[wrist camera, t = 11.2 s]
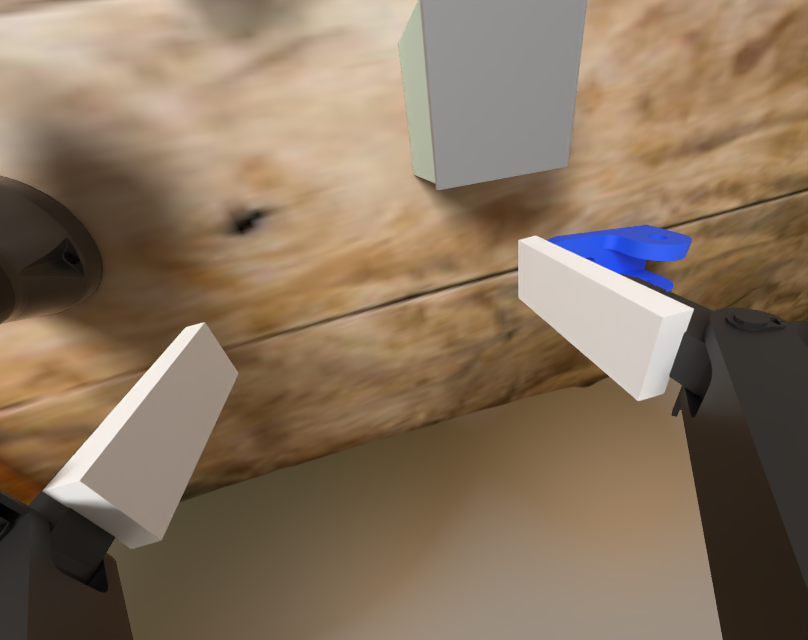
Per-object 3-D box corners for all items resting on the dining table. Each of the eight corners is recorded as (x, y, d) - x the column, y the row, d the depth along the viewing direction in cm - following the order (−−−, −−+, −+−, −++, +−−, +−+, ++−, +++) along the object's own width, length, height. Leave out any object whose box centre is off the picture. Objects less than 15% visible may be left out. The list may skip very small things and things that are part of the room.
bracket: (645, 224, 45) (707, 240, 37) (629, 276, 49) (681, 300, 41) (531, 239, 43) (571, 259, 35) (524, 291, 47) (558, 319, 40)
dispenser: (394, 36, 30) (420, -29, 19) (506, 19, 31) (593, -54, 20) (411, 177, 36) (438, 190, 25) (503, 161, 37) (567, 166, 26)
